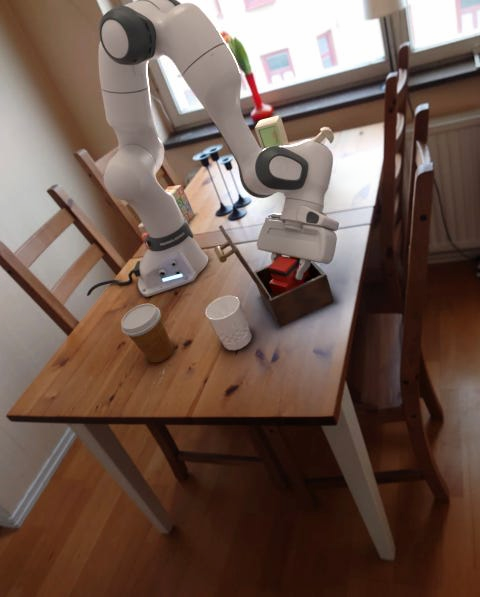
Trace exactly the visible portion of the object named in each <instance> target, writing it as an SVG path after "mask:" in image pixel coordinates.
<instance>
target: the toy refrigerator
mask: <svg viewBox="0 0 480 597" xmlns="http://www.w3.org/2000/svg"><path fill="white" fill-rule="evenodd" d="M254 131H255V133H256V137H257V140H258V142H259V143H258V144H259V147H260V148H261V149H262V150H264V149H265V148H268V147H271V146H290V143H289V140H288V136H287V133H286V130H285V126H284V123H283V120H282V115H280V114H279V115H275V116H271V117H267V118H264V119H260V120H258V121H257V124H256V125H255V127H254Z"/></svg>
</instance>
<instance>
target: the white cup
mask: <svg viewBox="0 0 480 597" xmlns="http://www.w3.org/2000/svg"><path fill="white" fill-rule="evenodd" d="M205 316H206V318H207V320H208V322H209V323H210V325H211V327H212V329H213V331H214V332H215V334H216V335H217V337H218V339H219V340H220V342H221V343H222V345H223V347H224V348H225V349H226V350H228V351H238V350H241V349H243V348H244V347H246V346H247V345H248V344H249V343H250V342H251V341H252V336H253V335H252V333H251V330H250V327H249V323H248V319H247V317H246V315H245V311H244V309H243V306H242V304H241V301H240V299H239V298H238V297H237V296H235V295H222V296H219V297H217V298H215V299H214V300H213V301H211V302H210V303H209V304H208V305H207V306H206V308H205Z"/></svg>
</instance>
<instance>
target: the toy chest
mask: <svg viewBox="0 0 480 597" xmlns="http://www.w3.org/2000/svg"><path fill="white" fill-rule="evenodd" d="M286 257H289V258H294V259H297V260H298V263H299V264H300V259H299V258H295V257H290V256H286ZM271 264H272V263H269V264H267V265H266V266H263V267H261V268H259V269H256V270H255V271H253V272H254V274H255V275H256V277H257V278H258V280H259V281H260V283H261V285H262V286H263V288H264V289H265V291H266V292H267V294H268V296H269V297H270V299H269V300H268V301H267V300H266V298H265V297H264V295H263V294H262V292H261V291H260V289H259V288H258V286H257V285H256V288H257V290H258V292H259V295H260V298H261V299H262V301H263V303H264V305H265V306H266V307H267V309H268V311H269V312H270V314H271V316H272V318H273V319H274V321H275V322H276V324H277V326H278V327H279V328H282V327H284V326H286V325H289V324H291V323H292V322H295V321H298V320H300V319H301V318H304V317H305V316H308V315H310V314H313V313H315V312H317V311H318V310H321V309H322V308H325V307H327V306H329V305H331V304H334V303H335V299H334V296H333V292H332V289H331V285H330V282H329V279H328V275H327V273H325V272H324V270H323V269H322V268H321V267H320V266H319V265H318V264H317V262H314V261H311V264H310V267H309V268H308V272H309V275H310V281H308V282H305V283H303V284H301V285H299V286H297V287H295V288H293V289H290V290H288V291H286V292H284V293H282V294H280V295H277V296H276V295H274V294H273V292H272V289H271V287H270V284H269V282H270V281H271V280H272V277H271V274H270V272H269V269H268V267H269V266H270V265H271ZM300 265H301V264H300Z"/></svg>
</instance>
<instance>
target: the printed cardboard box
mask: <svg viewBox="0 0 480 597" xmlns="http://www.w3.org/2000/svg"><path fill="white" fill-rule="evenodd" d="M164 190H165V191H166V192H168V193H171V194H172V195H173V196H174V198H175V200H176V202H177V204H178V207H179V209H180V211H181V213H182V215H183V217H184V218H185V219H186V220H187V222H188V223H189V222H190V221H191V220H192V219H193V218H194V217H195V215H196V214H195V212H194V210H193V208H192V206H191V203H190V201H189V199H188V196H187V194H186V192H185V189H184V188H183V185H182V184H180V185H179V184H178V185H171V186H167V187H166V188H165V189H164ZM137 228H138V230H139V232H140V234H141V235H142V234H143V233H146V234H148V233H147V231H146V229H145V227H144V225H143V223H142V222H141V223H140V224H139V225H138V226H137Z"/></svg>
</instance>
